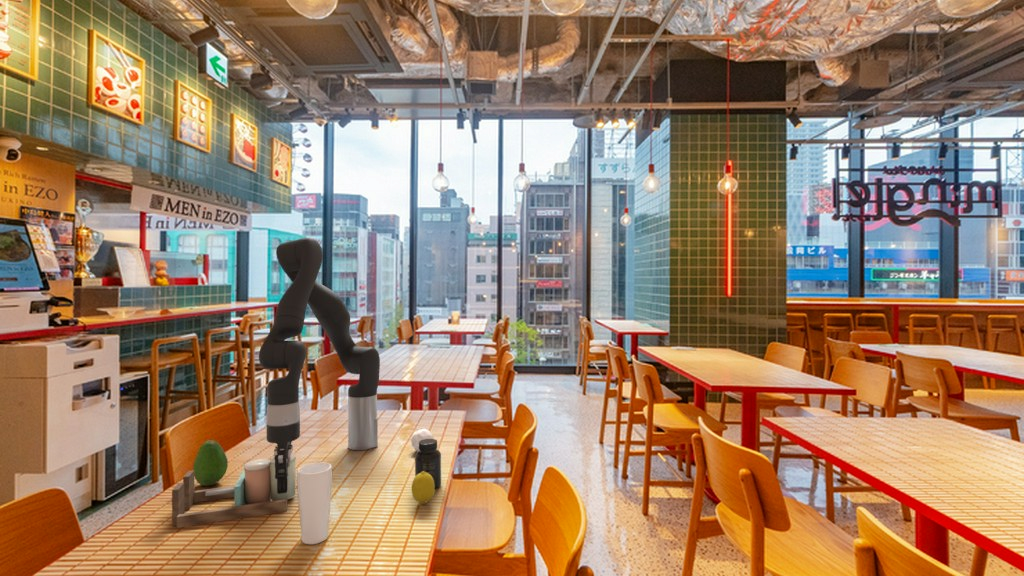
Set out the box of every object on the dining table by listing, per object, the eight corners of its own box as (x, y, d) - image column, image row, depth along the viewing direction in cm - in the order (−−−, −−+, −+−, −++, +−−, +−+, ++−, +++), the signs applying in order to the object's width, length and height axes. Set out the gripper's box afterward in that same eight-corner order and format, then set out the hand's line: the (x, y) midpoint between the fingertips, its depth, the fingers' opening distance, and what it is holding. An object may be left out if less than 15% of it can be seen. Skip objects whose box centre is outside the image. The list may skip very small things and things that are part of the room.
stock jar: (272, 496, 119) (272, 457, 119) (269, 506, 114) (268, 465, 114) (247, 499, 117) (246, 460, 117) (242, 510, 112) (241, 469, 112)
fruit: (190, 493, 121) (190, 446, 121) (195, 482, 128) (195, 438, 128) (226, 487, 125) (226, 442, 125) (228, 476, 132) (228, 434, 132)
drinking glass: (304, 531, 102) (303, 462, 102) (336, 529, 102) (336, 461, 102) (292, 548, 95) (292, 474, 95) (326, 546, 96) (326, 473, 96)
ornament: (410, 455, 148) (403, 431, 152) (422, 456, 154) (415, 433, 158) (429, 445, 147) (421, 421, 151) (440, 447, 153) (433, 424, 157)
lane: (292, 487, 125) (292, 457, 125) (286, 511, 111) (286, 477, 111) (190, 501, 117) (190, 468, 117) (170, 528, 103) (170, 492, 103)
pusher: (249, 494, 120) (248, 469, 120) (240, 513, 109) (240, 486, 109) (211, 499, 117) (211, 474, 117) (199, 519, 107) (199, 491, 107)
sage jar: (296, 489, 121) (296, 451, 121) (294, 498, 115) (294, 459, 115) (271, 492, 119) (271, 454, 119) (268, 502, 113) (268, 462, 113)
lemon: (438, 501, 116) (438, 468, 116) (427, 511, 111) (427, 477, 111) (419, 497, 118) (418, 466, 118) (407, 507, 113) (407, 474, 113)
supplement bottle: (446, 483, 126) (445, 439, 126) (431, 493, 120) (431, 447, 120) (425, 479, 129) (425, 436, 129) (409, 489, 123) (409, 443, 123)
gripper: (297, 426, 112) (297, 497, 112) (301, 411, 125) (302, 475, 125) (262, 430, 109) (262, 502, 109) (270, 414, 123) (270, 479, 123)
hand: (283, 487), depth 117 cm, fingers closed on sage jar, 5 cm apart
